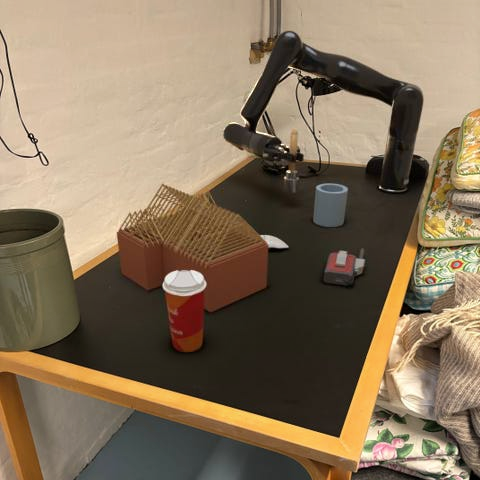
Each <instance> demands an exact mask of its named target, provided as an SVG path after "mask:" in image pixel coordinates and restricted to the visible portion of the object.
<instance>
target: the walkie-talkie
mask: <svg viewBox="0 0 480 480" xmlns="http://www.w3.org/2000/svg"><path fill="white" fill-rule="evenodd" d="M364 256H365V248H363V247H362V248H360V250H359V255H358V258H357V256H356V255H354V254H352V253H351V254H349V251H347V250H338V252H336V251H335V252H331V253H329V255H328V258H327V261H326V265H325V268H324V271H323V272H324V273H323V282H324V283H326V284H330V285H337V286H345V287H348V286H352V285H353V284H354V280H355V277H357V276H359V275H361V274H363V271H364V268H365V263H366V259H364Z"/></svg>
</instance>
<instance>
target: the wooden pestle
mask: <svg viewBox="0 0 480 480" xmlns="http://www.w3.org/2000/svg"><path fill="white" fill-rule="evenodd" d="M289 136H290V137H289V147H290V151H289V153H291V154H294V155H296V157H297V146H298V142H299V132H298V130H297V129H292V130H291V131H290V135H289ZM299 182H300V177H298V170H297V162H296V163H292V162H289V161H288V170H286V171H285V176H284V177H283V192H284V193H286V194H297V193H298V192H299V184H300V183H299Z"/></svg>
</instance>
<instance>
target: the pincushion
mask: <svg viewBox="0 0 480 480" xmlns="http://www.w3.org/2000/svg"><path fill="white" fill-rule="evenodd" d="M259 230H260V231H259ZM259 230H258V229H256V232H257V233H259V235H260V236H261V237H262V238H263V239H264V240H265V241H266V242H267V244H268V248H269V249H271V248H272V249H274V248H275V249H289V245H288V244H286V243H285V242H284V241H283V240H282V239H280V238H278V237H276V236H274V235H270V234H269V235H268V233H267V232H268V229H266V230H265V234H261V233H262V232H261V231H262V228H260V229H259Z"/></svg>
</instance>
